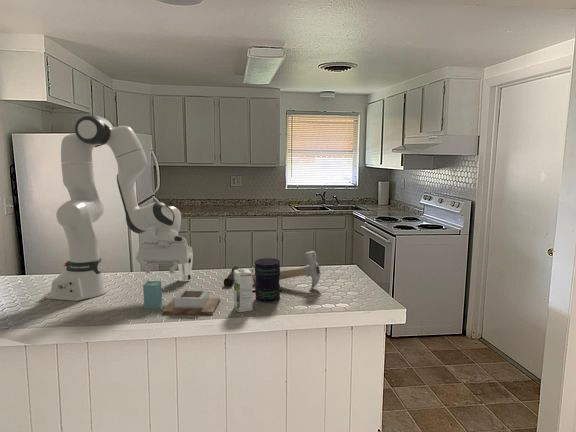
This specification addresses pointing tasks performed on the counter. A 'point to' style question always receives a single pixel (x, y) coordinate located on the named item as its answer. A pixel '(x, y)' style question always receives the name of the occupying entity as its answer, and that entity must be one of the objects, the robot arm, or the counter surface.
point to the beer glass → (186, 268)
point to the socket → (192, 299)
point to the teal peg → (152, 295)
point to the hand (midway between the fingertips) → (159, 272)
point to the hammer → (302, 270)
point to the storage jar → (267, 280)
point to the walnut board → (208, 309)
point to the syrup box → (242, 290)
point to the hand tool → (230, 278)
